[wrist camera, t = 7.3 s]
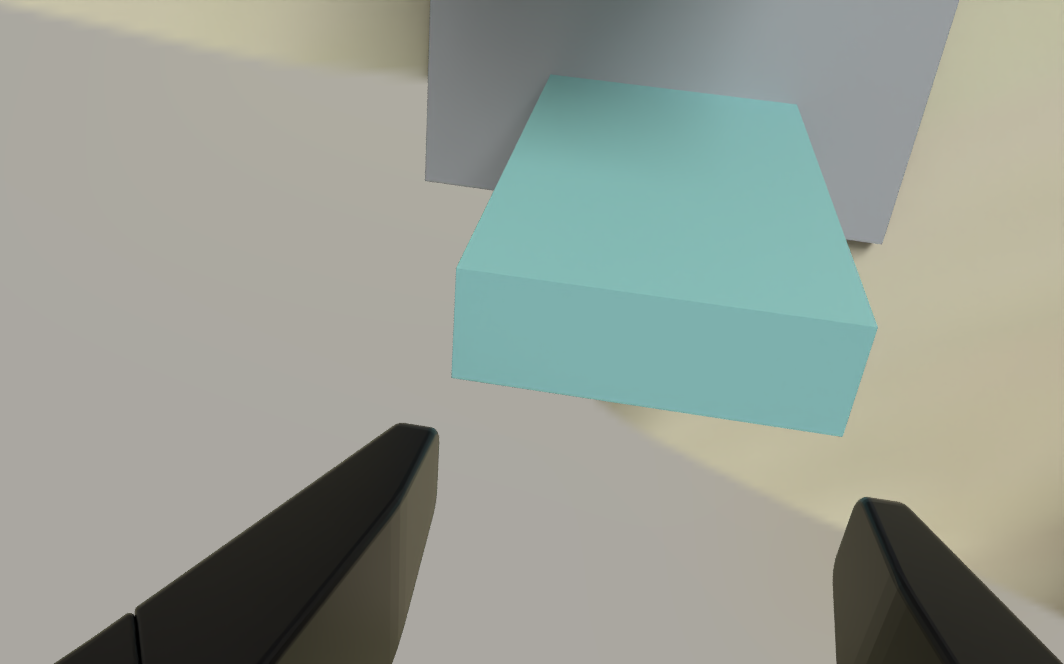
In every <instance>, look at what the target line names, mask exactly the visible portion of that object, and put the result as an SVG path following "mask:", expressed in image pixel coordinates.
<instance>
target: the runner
mask: <svg viewBox="0 0 1064 664" xmlns="http://www.w3.org/2000/svg"><path fill="white" fill-rule="evenodd" d="M958 2H959V0H430V31H429V66H428V100H427V135H426V170H425V181H430V182H437V183H444V184H451V185H459V186H465V187H473V188H480V189H487V190H494V189H495V187H496V185H497V183H498V181H499V179H500V177H501V175H502V173H503V171H504V169H505V167H506V165H507V163H508V161H509V159H510V157H511V155H512V153H513V150H514V148H515V146H516V144H517V142H518V140H519V138H520V136H521V134H522V132H523V130H524V128H525V126H526V124H527V122H528V120H529V118H530V116H531V113H532V111H533V109H534V107H535V105H536V103H537V101H538V99H539V97H540V95H541V93H542V91H543V89H544V87H545V85H546V83H547V81H548V79H549V77H550V74H551V75H560V76H568V77H576V78H584V79H592V80H600V81H609V82H617V83H625V84H633V85H641V86H650V87H658V88H666V89H674V90H682V91H691V92H699V93H707V94H715V95H723V96H732V97H740V98H748V99H756V100H764V101H773V102H781V103H789V104H797V106H798V109H799V112H800V114H801V117H802V120H803V123H804V125H805V128H806V131H807V134H808V136H809V139H810V142H811V145H812V147H813V150H814V153H815V156H816V158H817V161H818V164H819V167H820V170H821V172H822V175H823V178H824V181H825V183H826V186H827V189H828V192H829V194H830V197H831V200H832V203H833V205H834V208H835V211H836V214H837V216H838V219H839V222H840V225H841V227H842V230H843V233H844V236H845V238H846V240H854V241H861V242H868V243H875V244H882V243H883V239H884V236H885V233H886V230H887V227H888V224H889V220H890V217H891V214H892V211H893V208H894V205H895V201H896V198H897V195H898V192H899V189H900V186H901V183H902V179H903V176H904V173H905V170H906V167H907V164H908V160H909V157H910V154H911V151H912V148H913V145H914V141H915V138H916V135H917V132H918V129H919V126H920V122H921V119H922V116H923V113H924V110H925V107H926V104H927V100H928V97H929V94H930V91H931V88H932V85H933V81H934V78H935V75H936V72H937V69H938V66H939V62H940V59H941V56H942V53H943V50H944V47H945V43H946V40H947V37H948V34H949V31H950V28H951V25H952V21H953V18H954V15H955V12H956V9H957V6H958Z"/></svg>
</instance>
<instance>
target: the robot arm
mask: <svg viewBox="0 0 1064 664" xmlns="http://www.w3.org/2000/svg"><path fill="white" fill-rule="evenodd" d="M438 455H439V435H438V432H437V431H436V430H435V429H434V428H432V427H425V426H419V425H413V424H407V423H399V424H396V425H394V426H392V427H391V428H390V429H388V430H387V431H385V432H384V433H383V434H381V435H380V436H378V437H377V438H375V439H374V440H372V441H371V442H370V443H368V444H367V445H365V446H364V447H363V448H361V449H360V450H358V451H357V452H356V453H354V454H353V455H351V456H350V457H348V458H347V459H346V460H344V461H343V462H341V463H340V464H339V465H337V466H336V467H334V468H333V469H331V470H330V471H329V472H327V473H326V474H324V475H323V476H322V477H320V478H319V479H317V480H316V481H315V482H313V483H312V484H310V485H309V486H307V487H306V488H305V489H303V490H302V491H300V492H299V493H297V494H296V495H295V496H293V497H292V498H290V499H289V500H287V501H286V502H285V503H283V504H282V505H280V506H279V507H278V508H276V509H275V510H273V511H272V512H270V513H269V514H268V515H266V516H265V517H263V518H262V519H261V520H259V521H258V522H257V523H255V524H254V525H252V526H251V527H249V528H248V529H246V530H245V531H244V532H242V533H241V534H239V535H238V536H237V537H235V538H234V539H232V540H231V541H229V542H228V543H227V544H225V545H224V546H222V547H221V548H219V549H218V550H217V551H215V552H214V553H212V554H211V555H210V556H208V557H207V558H205V559H204V560H203V561H201V562H200V563H198V564H197V565H195V566H194V567H193V568H191V569H190V570H188V571H187V572H185V573H184V574H183V575H181V576H180V577H179V578H177V579H176V580H174V581H173V582H171V583H170V584H168V585H167V586H166V587H165V588H163V589H161V590H160V591H159V592H157V593H156V594H154V595H153V596H151V597H150V598H149V599H147V600H146V601H144V602H143V603H142V604H140V605H139V606H137V607H136V609H135V616H134V615H133V614H132V613H127V614H125V615H124V616H123V617H121V618H120V619H118V620H117V621H116V622H114V623H113V624H111V625H110V626H109V627H107V628H106V629H104V630H103V631H101V632H100V633H99V634H97V635H96V636H94V637H93V638H91V639H90V640H88V641H87V642H85V643H84V644H83V645H81V646H79V647H78V648H77V649H75V650H74V651H72V652H71V653H69V654H68V655H66V656H65V657H63V658H62V659H60V660H59V661H57V662H56V663H54V664H392V662H393V659H394V656H395V654H396V651H397V648H398V645H399V641H400V638H401V635H402V631H403V628H404V625H405V621H406V617H407V613H408V610H409V606H410V602H411V598H412V594H413V590H414V587H415V582H416V579H417V575H418V571H419V567H420V563H421V560H422V556H423V552H424V548H425V544H426V541H427V536H428V533H429V529H430V525H431V521H432V517H433V514H434V509H435V503H436V496H437V480H438ZM833 599H834V620H835V641H836V661H837V664H1063V663H1062V662H1061V661H1060V660H1059V659H1058V658H1057V657H1056V656H1055V655H1054V654H1053V653H1052V652H1051V651H1050V650H1049V649H1048V648H1047V647H1046V646H1045V645H1044V644H1043V643H1042V642H1041V641H1040V640H1039V639H1038V638H1037V637H1036V636H1035V635H1034V634H1033V633H1032V632H1031V631H1030V630H1029V629H1028V628H1027V627H1026V626H1025V625H1024V624H1023V623H1022V622H1021V621H1020V620H1019V619H1018V618H1017V617H1016V616H1015V615H1014V614H1013V613H1012V612H1011V611H1010V610H1009V609H1008V607H1007V606H1006V605H1005V604H1004V603H1003V602H1002V601H1000V599H999V598H998V597H996V596H995V594H994V593H993V592H992V591H991V590H990V589H989V588H988V587H987V586H986V585H985V584H984V583H983V582H982V581H981V580H980V579H979V578H978V577H977V576H976V575H975V574H974V573H973V572H972V571H971V570H970V569H969V568H968V567H967V566H966V565H965V564H964V563H963V562H962V561H961V560H960V559H959V558H958V557H957V556H956V555H955V554H954V553H953V552H952V551H951V550H950V549H949V548H948V547H947V546H946V545H945V544H944V543H943V542H942V541H941V540H940V539H939V538H938V537H937V536H936V535H935V534H934V533H933V532H932V531H931V530H930V529H929V527H928V526H927V525H926V524H925V523H924V522H923V521H922V520H921V519H920V518H919V517H918V516H917V515H916V514H915V513H914V512H913V511H912V510H911V509H910V508H908V507H907V506H906V505H905V504H903V503H900V502H896V501H890V500H883V499H877V498H871V497H864V498H862V499H860V500H858V502H857V503H856V504H855V506H854V508H853V511H852V513H851V516H850V519H849V522H848V525H847V527H846V530H845V533H844V536H843V539H842V541H841V544H840V547H839V550H838V553H837V555H836V559H835V564H834V569H833Z"/></svg>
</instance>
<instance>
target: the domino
mask: <svg viewBox="0 0 1064 664" xmlns="http://www.w3.org/2000/svg"><path fill="white" fill-rule="evenodd" d="M877 328H878V327H877V324H876V321H875V318H874V316H873V313H872V310H871V307H870V305H869V302H868V299H867V296H866V294H865V291H864V288H863V285H862V283H861V280H860V277H859V274H858V272H857V269H856V266H855V263H854V261H853V258H852V255H851V252H850V249H849V247H848V244H847V241H846V238H845V236H844V233H843V230H842V227H841V225H840V222H839V219H838V216H837V214H836V211H835V208H834V205H833V203H832V200H831V197H830V194H829V192H828V189H827V186H826V183H825V181H824V178H823V175H822V172H821V170H820V167H819V164H818V161H817V158H816V156H815V153H814V150H813V147H812V145H811V142H810V139H809V136H808V134H807V131H806V128H805V125H804V123H803V120H802V117H801V114H800V112H799V109H798V106H797V104H789V103H781V102H773V101H764V100H756V99H748V98H740V97H732V96H723V95H715V94H707V93H699V92H691V91H682V90H674V89H666V88H658V87H650V86H641V85H633V84H625V83H617V82H609V81H600V80H592V79H584V78H576V77H568V76H560V75H551V74H550V77H549V79H548V81H547V83H546V85H545V87H544V89H543V91H542V93H541V95H540V97H539V99H538V101H537V103H536V105H535V107H534V109H533V111H532V113H531V116H530V118H529V120H528V122H527V124H526V126H525V128H524V130H523V132H522V134H521V136H520V138H519V140H518V142H517V144H516V146H515V148H514V150H513V153H512V155H511V157H510V159H509V161H508V163H507V165H506V167H505V169H504V171H503V173H502V175H501V177H500V179H499V181H498V183H497V185H496V187H495V189H494V192H493V194H492V196H491V198H490V200H489V202H488V204H487V206H486V208H485V210H484V212H483V214H482V216H481V219H480V220H479V222H478V224H477V226H476V229H475V231H474V233H473V235H472V237H471V239H470V241H469V243H468V245H467V247H466V249H465V251H464V253H463V255H462V257H461V259H460V261H459V264H458V266H457V268H456V285H455V309H454V332H453V354H452V355H453V356H452V378H456V379H463V380H469V381H476V382H483V383H489V384H496V385H503V386H510V387H516V388H522V389H530V390H536V391H543V392H549V393H555V394H562V395H569V396H576V397H582V398H589V399H595V400H602V401H608V402H615V403H622V404H628V405H635V406H642V407H648V408H655V409H661V410H668V411H675V412H681V413H688V414H695V415H701V416H708V417H714V418H721V419H728V420H734V421H741V422H748V423H754V424H761V425H767V426H774V427H781V428H787V429H794V430H801V431H807V432H814V433H820V434H827V435H834V436H840V437H842V436H843V433H844V430H845V427H846V424H847V421H848V418H849V415H850V412H851V409H852V406H853V402H854V399H855V396H856V393H857V390H858V387H859V384H860V381H861V378H862V375H863V372H864V368H865V365H866V362H867V359H868V356H869V353H870V350H871V347H872V344H873V341H874V338H875V334H876V331H877Z"/></svg>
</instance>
